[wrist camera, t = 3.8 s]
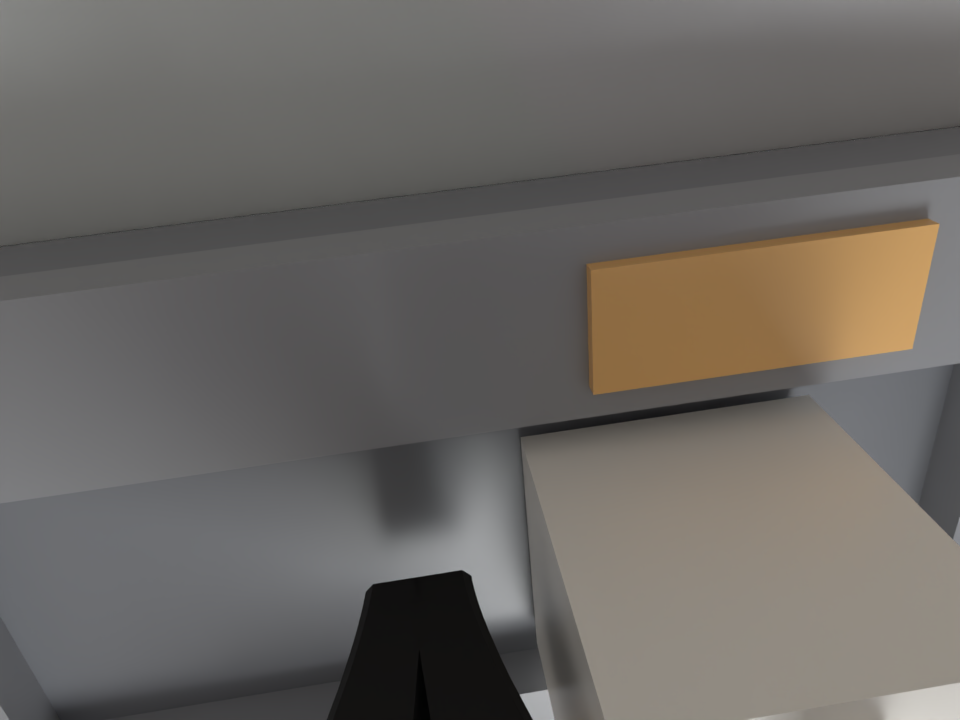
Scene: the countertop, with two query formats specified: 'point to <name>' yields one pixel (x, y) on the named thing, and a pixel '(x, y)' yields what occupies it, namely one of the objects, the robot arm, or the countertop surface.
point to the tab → (736, 573)
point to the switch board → (423, 400)
